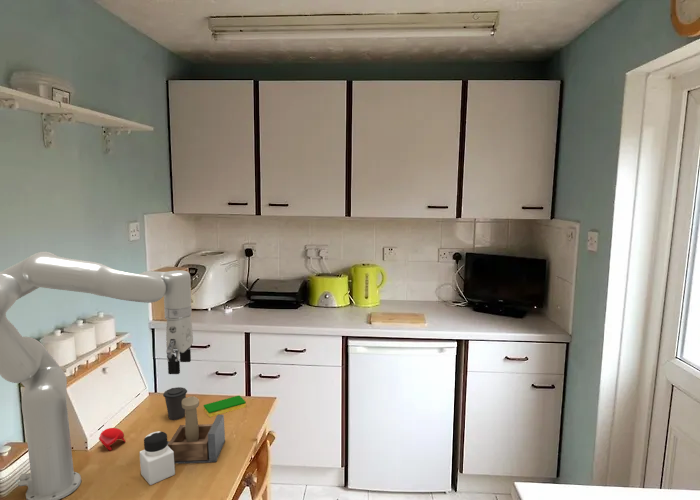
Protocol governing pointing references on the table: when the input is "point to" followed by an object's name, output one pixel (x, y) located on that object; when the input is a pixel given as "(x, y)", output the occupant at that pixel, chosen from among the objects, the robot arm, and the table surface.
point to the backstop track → (212, 441)
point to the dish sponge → (224, 406)
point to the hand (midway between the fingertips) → (180, 367)
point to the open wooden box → (190, 444)
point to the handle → (191, 418)
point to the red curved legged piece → (111, 437)
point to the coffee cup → (175, 402)
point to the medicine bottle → (156, 458)
